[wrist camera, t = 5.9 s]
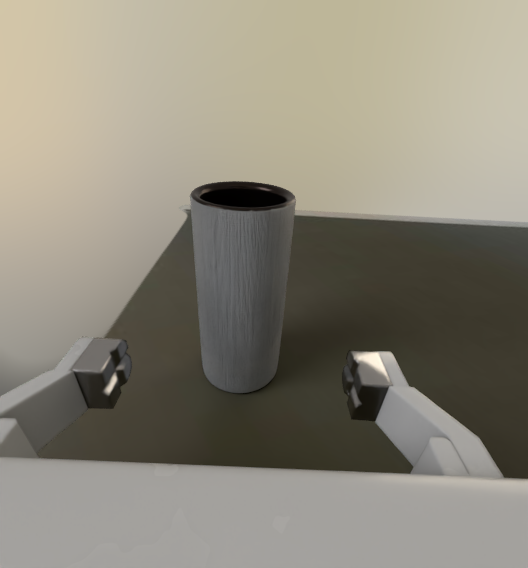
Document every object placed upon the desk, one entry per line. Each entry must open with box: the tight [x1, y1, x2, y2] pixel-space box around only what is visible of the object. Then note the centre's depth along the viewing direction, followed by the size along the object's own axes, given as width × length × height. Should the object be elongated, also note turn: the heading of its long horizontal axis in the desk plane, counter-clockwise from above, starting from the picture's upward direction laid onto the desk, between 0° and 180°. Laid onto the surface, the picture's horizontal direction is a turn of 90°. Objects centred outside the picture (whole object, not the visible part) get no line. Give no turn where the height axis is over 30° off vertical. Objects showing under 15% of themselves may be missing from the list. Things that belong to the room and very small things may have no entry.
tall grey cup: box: [190, 181, 296, 393], centre depth 16 cm, size 4×4×10 cm
